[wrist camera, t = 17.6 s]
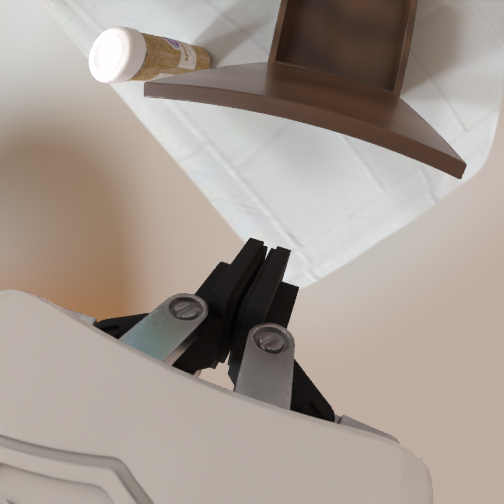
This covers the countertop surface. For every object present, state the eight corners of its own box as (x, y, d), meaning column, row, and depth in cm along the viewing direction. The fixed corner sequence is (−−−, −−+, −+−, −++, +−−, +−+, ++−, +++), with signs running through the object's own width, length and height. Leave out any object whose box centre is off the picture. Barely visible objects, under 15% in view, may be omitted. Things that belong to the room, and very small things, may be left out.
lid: (143, 82, 9) (142, 97, 9) (467, 164, 7) (461, 180, 7) (266, 62, 21) (265, 68, 21) (400, 97, 19) (398, 104, 19)
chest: (304, -47, 17) (296, -67, 13) (412, -21, 15) (421, -38, 11) (278, 71, 25) (266, 65, 21) (389, 102, 23) (398, 100, 19)
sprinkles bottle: (219, 54, 25) (140, 33, 14) (199, 90, 28) (115, 91, 17) (186, 40, 25) (100, 20, 14) (168, 75, 28) (79, 73, 17)
